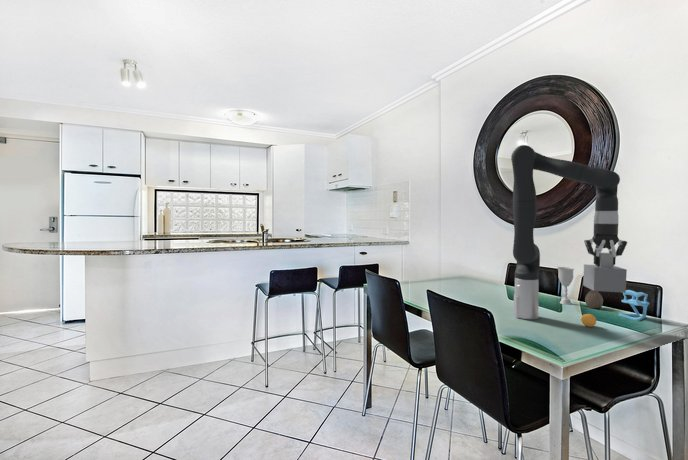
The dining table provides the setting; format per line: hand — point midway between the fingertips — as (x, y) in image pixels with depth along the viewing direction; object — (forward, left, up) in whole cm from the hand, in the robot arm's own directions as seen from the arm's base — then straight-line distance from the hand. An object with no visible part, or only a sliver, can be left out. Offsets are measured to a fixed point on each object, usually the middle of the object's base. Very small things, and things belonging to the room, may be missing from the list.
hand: (604, 265), depth 129 cm
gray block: (0, 0, -9) cm, 9 cm away
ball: (-5, 0, -22) cm, 23 cm away
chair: (+18, +18, -25) cm, 36 cm away
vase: (+8, +32, -25) cm, 41 cm away
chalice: (-2, +38, -25) cm, 45 cm away
